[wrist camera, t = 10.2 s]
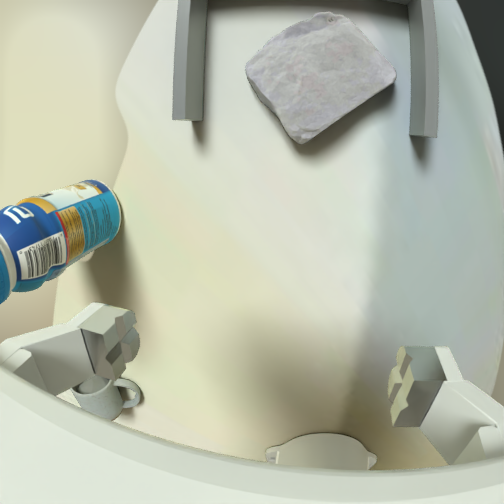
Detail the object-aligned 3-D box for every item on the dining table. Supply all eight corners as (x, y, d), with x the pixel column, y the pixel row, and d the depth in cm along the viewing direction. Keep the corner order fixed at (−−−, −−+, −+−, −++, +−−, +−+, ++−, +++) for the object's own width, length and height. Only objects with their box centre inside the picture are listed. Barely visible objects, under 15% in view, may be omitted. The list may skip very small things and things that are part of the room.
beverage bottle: (101, 256, 38) (-14, 340, 19) (63, 209, 36) (-60, 267, 18) (137, 214, 35) (0, 294, 16) (94, 162, 33) (-51, 206, 15)
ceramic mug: (99, 392, 49) (78, 420, 42) (84, 358, 46) (59, 386, 39) (148, 405, 47) (130, 438, 40) (136, 370, 44) (113, 404, 37)
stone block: (243, 81, 29) (304, 155, 29) (226, 65, 25) (296, 147, 24) (332, 18, 25) (400, 86, 25) (328, -7, 21) (408, 68, 20)
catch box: (420, 136, 26) (436, 137, 22) (191, 120, 30) (172, 119, 26) (417, -2, 20) (430, -19, 16) (197, -11, 24) (181, -27, 20)
